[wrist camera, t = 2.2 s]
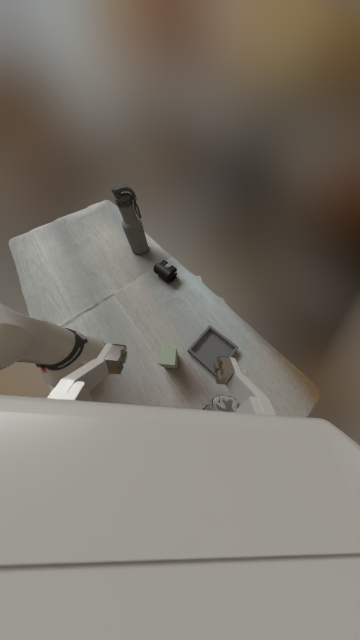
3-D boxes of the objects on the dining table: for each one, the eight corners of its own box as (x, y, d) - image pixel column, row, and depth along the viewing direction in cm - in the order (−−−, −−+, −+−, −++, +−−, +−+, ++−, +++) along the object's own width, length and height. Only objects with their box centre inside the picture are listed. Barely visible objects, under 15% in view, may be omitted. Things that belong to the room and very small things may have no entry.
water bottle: (145, 241, 81) (127, 178, 56) (151, 250, 77) (135, 187, 52) (130, 247, 79) (104, 185, 54) (135, 257, 76) (111, 195, 50)
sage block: (177, 368, 50) (174, 365, 38) (164, 367, 50) (157, 363, 38) (178, 355, 52) (176, 347, 40) (165, 354, 52) (160, 346, 40)
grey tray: (215, 376, 48) (217, 376, 45) (187, 351, 52) (187, 349, 50) (235, 349, 52) (238, 347, 49) (208, 327, 56) (209, 325, 53)
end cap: (155, 275, 69) (152, 265, 63) (164, 268, 71) (162, 257, 65) (168, 285, 66) (166, 276, 60) (177, 277, 68) (177, 267, 62)
